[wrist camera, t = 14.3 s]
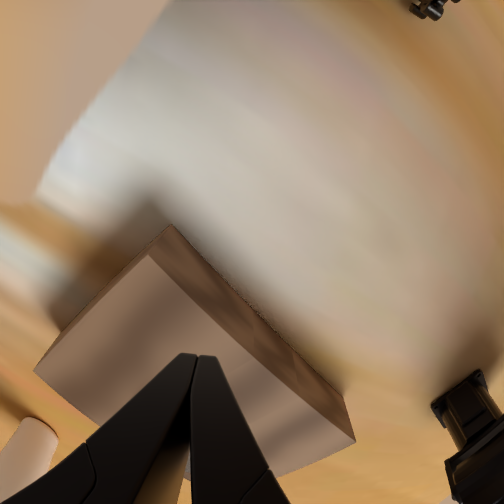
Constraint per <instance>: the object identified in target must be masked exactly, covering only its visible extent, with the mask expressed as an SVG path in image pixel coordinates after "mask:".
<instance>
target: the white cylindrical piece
mask: <svg viewBox="0 0 504 504" xmlns="http://www.w3.org/2000/svg"><path fill="white" fill-rule="evenodd" d="M57 446H58V438H57V436H56V434H55V433H54V431H53V430H52V429H51V428H50V427H48V426H47V425H46V424H44V423H43V422H41V421H39V420H38V419H35V418H32V417H26V418H24V419H23V420H22V421H21V423H20V425H19V426H18V428H17V430H16V431H15V432H14V434H13V435H12V437H11V438H10V439H9V441H8V442H7V444H6V445H5V447H4V448H3V449H2V451H1V452H0V503H1V502H3V501H4V500H6V499H8V498H9V497H11V496H12V495H14V494H16V493H17V492H19V491H20V490H22V489H23V488H25V487H26V486H28V485H30V484H31V483H33V482H34V481H36V480H37V479H38V478H40V477H41V476H43V475H44V474H46V473H47V472H48V469H49V466H50V463H51V460H52V457H53V455H54V452H55V450H56V448H57Z"/></svg>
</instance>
